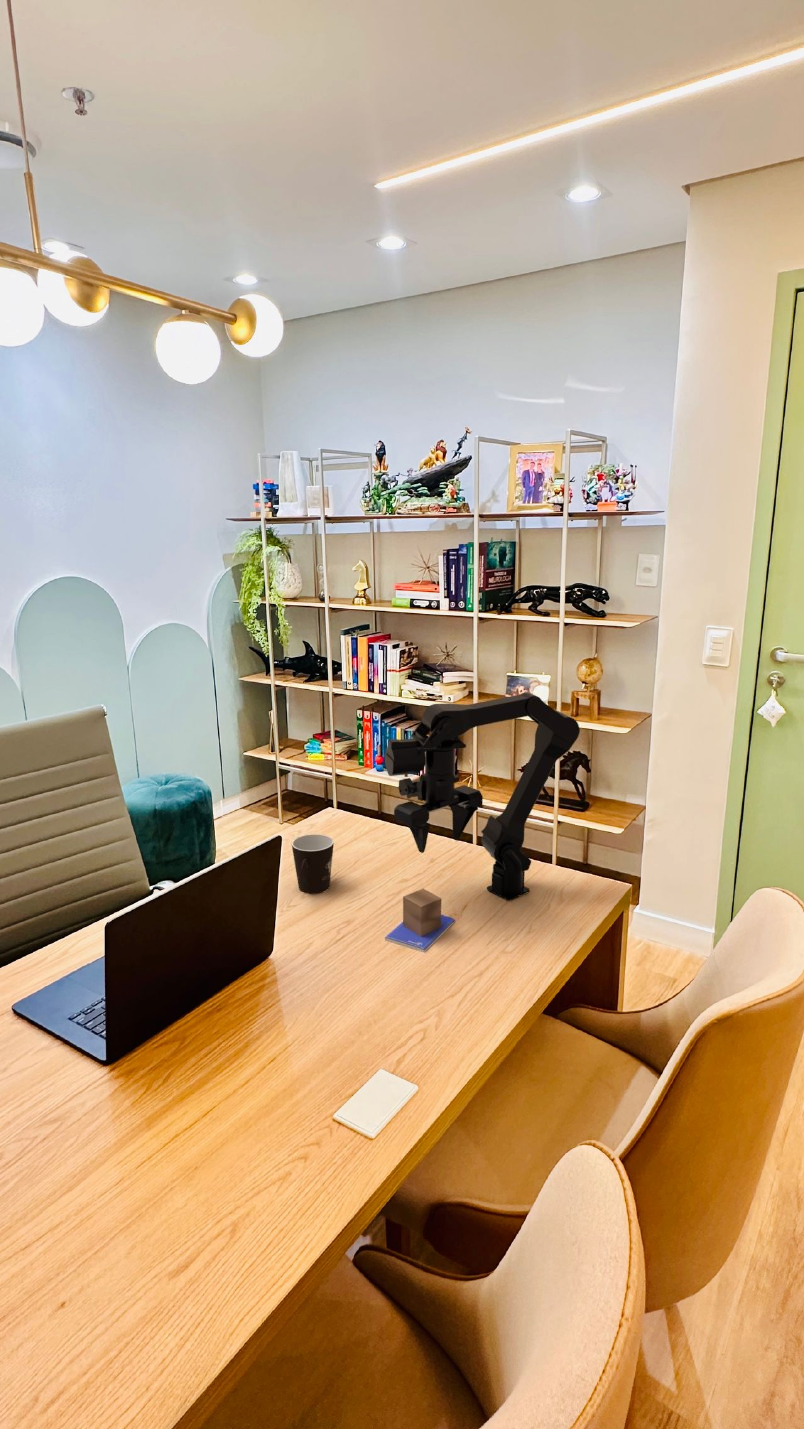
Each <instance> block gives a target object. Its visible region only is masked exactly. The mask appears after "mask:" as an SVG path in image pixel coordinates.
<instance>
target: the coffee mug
mask: <svg viewBox="0 0 804 1429" xmlns="http://www.w3.org/2000/svg"><path fill="white" fill-rule="evenodd" d="M334 843H335V840H334V838H333V837H331V836H329V835H326V834H320V833H310V834H304V835H300V836H298V837H296V838H294V839H293V840H292V841H291V849H292V855H293V862H294V868H295V873H296V878H297V885H298V890H299V891H300V892H302V893H304V894H306V895H307V894H308V895H318V894H322V893H324V891H325V892H327V891H328V890H329V888H330V884H331V875H332V874H331V873H332V864H333V854H334V845H335V844H334Z"/></svg>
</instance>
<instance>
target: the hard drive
mask: <svg viewBox="0 0 804 1429" xmlns="http://www.w3.org/2000/svg"><path fill="white" fill-rule="evenodd" d="M455 922H456V919H455V918H453V917H451V916H447V915H443V914H441V928H439V929H437V930H434V931H432V932H430V933H428V934H426V935H423V936H421V937H420V936H419V935H417V934H416V933H414V932H412V931H411V930H409V929H407V928H406V927H404V926H403V921H402V922H401V923H399V924H398V925H397V926H396V927H395V928H394V929H393V930H392V931H390V932H389V933H388V934H387V935H386V936H385V937H384V941H386V942H389V943H393V944H396V945H398V946H402V947H405V948H409V949H411V950H415V951H419V952H422V953H425V952H426V951H427V950H428V949H429V948H430V947H431V946H432V945H433V944H435V942H436V941H438V939H440V938H441V936H442V935H443V934H444V933H445V932H446V931H447V930H448V929H450V927H451V926H452V925H453V924H454V923H455Z"/></svg>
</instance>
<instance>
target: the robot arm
mask: <svg viewBox="0 0 804 1429" xmlns="http://www.w3.org/2000/svg"><path fill="white" fill-rule="evenodd" d="M525 717H528V718H529V719H531V720H532V721H533V722H534V723H536V724H537V727H536V730H535V732H534V733H535V734H534V749H533V752H532V754H531V756H530V758H529V760H528V762H527V763H526V766H525V768H524V770H523V772H522V774H521V776H520V778H519V780H518V782H517V784H516V786H515V788H514V790H513V792H512V795H511V796H510V799H509V800H508V801H507V805H506V806H505V808H504V810H503V812H502V813H500V814H499V815H497V817H495V816H492V815H490V816H488V819H487V822H486V825H485V827H484V828H483V829H482V830H481V831H480V832H481V834H482V837H481V844H482V846H483V848H484V849H485V850H486V851H487V852H488V854H489V855H490V857H491V858H493V859H494V861H495V862H494V864H493V865H492V872H491V885H488V886H487V887H486V890H487V891H488V892H491V893H492V894H495V895H496V896H499V897H501V898H503V899H505V900H507V901H512V900H515V899H516V898H519V897H521V896H523V895H525V894H528V893H529V892H530V891H531V890H530V888H529V887H527V886H525V874H526V873H525V872H527V871H529V870H530V866H531V864H532V860H531V858H529V857H528V856H527V855H526V854H525V853H524V852H523V851H521V850H522V848H523V845H524V841H525V831H526V830H525V829H526V828H525V827H526V822H527V820H528V818H529V816H530V814H531V812H532V810H533V808H534V806H535V805H536V803H537V800H538V798H539V796H540V794H541V793H542V790H543V788H544V786H545V784H546V782H547V780H548V779H549V776H550V774H551V772H552V771H553V769H554V766H555V764H556V763H557V761H558V760H559V759H561V758H562V757H563V756H564V755H566V753H567V752H569V751H570V750H571V749H572V747H573V746H574V745H575V743H576V742H577V740H578V739H579V736H580V733H581V728H580V725H579V723H578V722H577V720H576V719H575V718H573V717H572V716H569V715H567V714H565V713H563V712H561V711H559V710H555V709H554V708H552V707H551V706H549V705H548V704H547V703H546V702H544V700H542V698H541V697H540V696H537V695H536V694H533V693H531V692H527V691H525V692H522V693H520V694H517V695H511V696H504V697H501V698H495V699H490V700H485V701H480V702H476V703H475V702H474V703H469V704H459V703H432V704H430V705H428V706H427V707H426V708H425V710H424V711H423V714H422V716H421V721H420V722H419V723H418V724H417V726H416V728H415V729H414V731H413V732H412V734H410V737H411V738H404V739H402V738H401V739H397V738H392V739H388V745H387V747H386V751H385V752H384V753H385V754H384V761H385V762H384V763H385V769H386V772H387V774H388V776H389V777H392V776H394V777H395V776H404V775H405V776H407V775H416V774H420V773H421V772H423V771H424V773H421V774H420V775H419V778H417V779H414V780H412V779H411V778H410V777H408V778H403V779H399V780H398V792H399V794H400V796H406V799H408V800H409V799H411V798H416V797H417V800H418V801H420V802H424V803H423V804H419V803H417V802H414V801H412V800H410V801H406V802H403V803H400V804H397V805H396V806H395V807H394V810H393V812H394V813H393V820H396V821H398V822H400V823H402V824H405V825H407V826H408V828H409V830H410V832H411V834H412V837H413V839H414V841H415V844H416V848H417V850H418V852H419V853H421V854H424V853H425V850H426V847H427V843H428V842H427V841H428V836H429V831H430V826H431V824H430V822H429V823H428V821H429V819H430V814H431V813H435V812H437V811H441V810H444V809H447V808H450V810H451V813H452V814H451V815H452V837H453V840H454V841H456V842H457V841H459V840H460V838H461V836H462V834H463V833H464V831H465V829H466V827H467V825H468V823H469V822H470V820H471V819H472V817H473V816H474V814H475V812H476V811H478V810H479V807H480V806H483V802H484V801H483V800H484V799H483V797H484V796H483V794H482V792H481V791H480V790H478V789H477V788H473V787H471V786H468V785H465V784H464V785H460V786H456V787H455V784H456V783H458V782H460V776H459V775H457V774H456V773H455V772H456V750H457V749H465V748H466V747H467V745H466V743H464V742H463V741H462V740H461V738H460V736H462V735H464V734H466V733H467V732H469V731H471V729H474V728H476V727H481V726H485V725H492V724H495V723H500V722H501V723H502V722H505V721H510V720H514V719H515V720H516V719H521V718H525ZM428 734H429V735H428ZM455 774H456V775H455Z"/></svg>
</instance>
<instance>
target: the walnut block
mask: <svg viewBox="0 0 804 1429" xmlns="http://www.w3.org/2000/svg"><path fill="white" fill-rule="evenodd" d="M441 915H442V897H439V896H438V895H436V894H435V893H432V892H430V891H429V890H427V889H425V888H421V889H418V890H416V891H413V892H411V893H409V894H406V895H404V896H403V897H402V922H403V926H404V927H406V928H407V929H409V930H411V931H412V932H414V933H416V934H417V935H419V936H420V937H421V936H423V935H426V934H428V933H430V932H432V931H434V930H437V929H439V928H441Z"/></svg>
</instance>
